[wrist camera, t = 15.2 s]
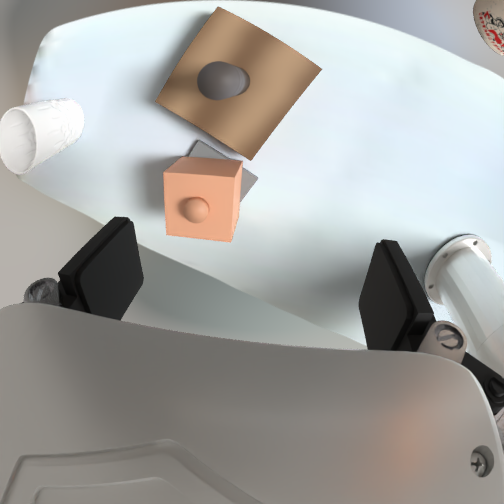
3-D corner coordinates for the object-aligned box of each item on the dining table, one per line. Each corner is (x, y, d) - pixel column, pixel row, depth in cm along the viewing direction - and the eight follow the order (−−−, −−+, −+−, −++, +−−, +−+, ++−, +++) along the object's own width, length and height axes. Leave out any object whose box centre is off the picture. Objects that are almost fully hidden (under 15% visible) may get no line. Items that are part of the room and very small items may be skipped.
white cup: (82, 86, 28) (29, 96, 19) (93, 141, 32) (44, 166, 24) (42, 104, 29) (-9, 121, 21) (53, 154, 33) (6, 180, 25)
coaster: (258, 177, 33) (257, 179, 33) (221, 226, 37) (220, 229, 37) (199, 139, 31) (198, 140, 31) (167, 193, 35) (166, 194, 35)
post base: (318, 70, 26) (337, 63, 17) (253, 154, 32) (240, 187, 23) (223, 12, 23) (196, -17, 14) (165, 99, 29) (116, 111, 20)
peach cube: (238, 216, 36) (229, 247, 30) (182, 211, 36) (163, 239, 30) (242, 160, 32) (233, 181, 26) (182, 156, 32) (159, 175, 26)
